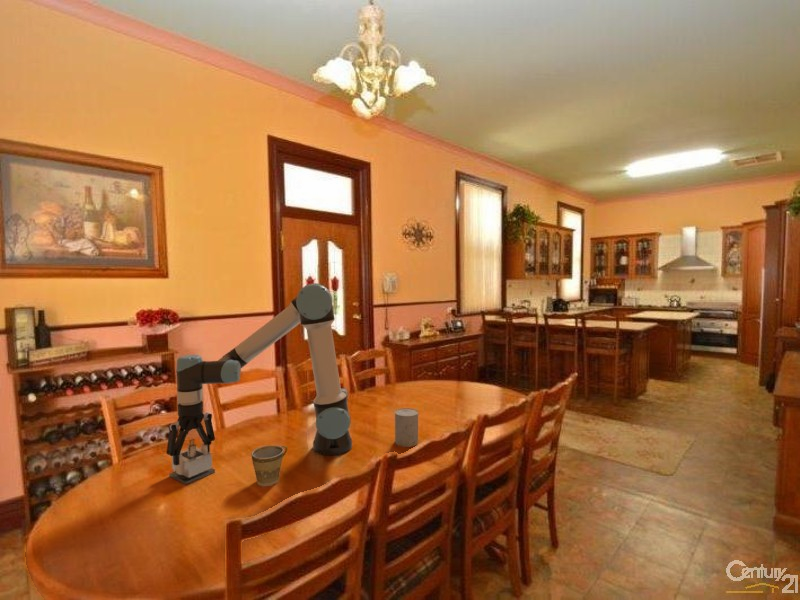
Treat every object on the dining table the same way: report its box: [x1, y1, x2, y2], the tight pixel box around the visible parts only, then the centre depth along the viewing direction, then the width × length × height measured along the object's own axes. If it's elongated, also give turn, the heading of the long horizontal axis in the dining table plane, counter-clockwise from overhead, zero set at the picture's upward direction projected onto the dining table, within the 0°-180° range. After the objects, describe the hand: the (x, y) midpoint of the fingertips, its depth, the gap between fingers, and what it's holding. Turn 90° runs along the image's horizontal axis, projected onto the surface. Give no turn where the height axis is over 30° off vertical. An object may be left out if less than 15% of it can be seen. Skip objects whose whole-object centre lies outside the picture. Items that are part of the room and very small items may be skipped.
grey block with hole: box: [171, 446, 213, 478], centre depth 135 cm, size 10×8×5 cm
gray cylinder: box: [394, 407, 419, 448], centre depth 162 cm, size 10×10×12 cm
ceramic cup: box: [250, 444, 288, 487], centre depth 132 cm, size 13×10×10 cm
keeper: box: [168, 438, 216, 486], centre depth 135 cm, size 10×10×12 cm
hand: (192, 468), depth 135 cm, fingers closed on grey block with hole, 8 cm apart
